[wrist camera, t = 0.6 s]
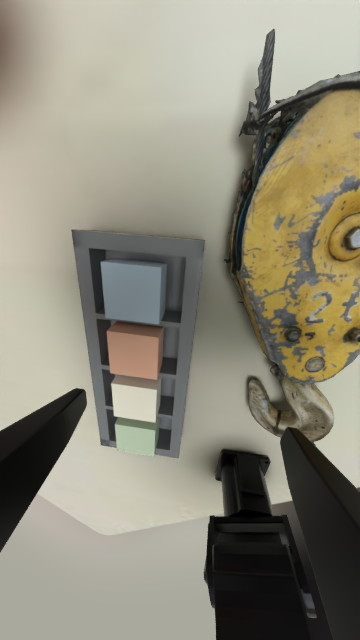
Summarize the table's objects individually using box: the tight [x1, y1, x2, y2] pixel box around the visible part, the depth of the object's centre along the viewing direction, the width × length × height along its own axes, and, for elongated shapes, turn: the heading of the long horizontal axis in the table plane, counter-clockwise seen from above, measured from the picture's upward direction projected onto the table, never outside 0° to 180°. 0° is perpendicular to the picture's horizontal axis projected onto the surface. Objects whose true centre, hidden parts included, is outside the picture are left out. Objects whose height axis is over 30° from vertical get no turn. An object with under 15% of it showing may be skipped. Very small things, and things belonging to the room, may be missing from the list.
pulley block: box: [224, 29, 360, 446], centre depth 16 cm, size 14×6×30 cm
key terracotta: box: [107, 321, 164, 380], centre depth 18 cm, size 4×4×2 cm
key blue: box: [101, 258, 167, 324], centre depth 16 cm, size 4×4×2 cm
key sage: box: [115, 417, 160, 457], centre depth 23 cm, size 4×4×2 cm
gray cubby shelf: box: [72, 230, 205, 458], centre depth 21 cm, size 25×10×3 cm, turn 176°
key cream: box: [111, 374, 162, 423], centre depth 20 cm, size 4×4×2 cm
